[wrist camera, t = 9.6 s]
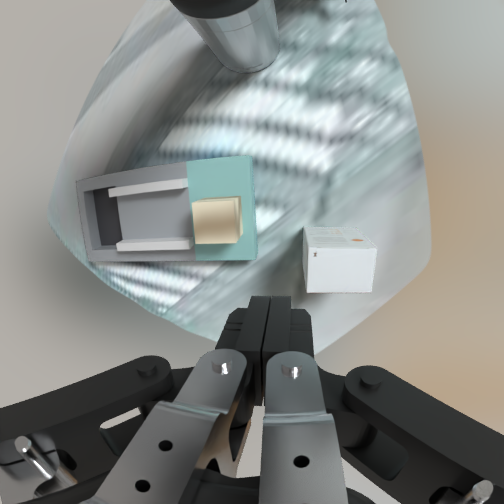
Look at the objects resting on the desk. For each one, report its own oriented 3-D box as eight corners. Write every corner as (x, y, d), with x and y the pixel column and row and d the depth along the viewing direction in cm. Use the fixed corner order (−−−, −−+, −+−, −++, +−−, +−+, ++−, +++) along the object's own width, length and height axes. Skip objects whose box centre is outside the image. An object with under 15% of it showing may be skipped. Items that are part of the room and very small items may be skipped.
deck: (86, 179, 42) (68, 182, 37) (251, 156, 38) (246, 154, 33) (98, 256, 46) (81, 265, 41) (257, 253, 42) (253, 264, 37)
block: (204, 197, 37) (191, 202, 33) (240, 195, 37) (233, 200, 32) (207, 233, 39) (195, 243, 34) (243, 233, 38) (236, 243, 33)
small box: (301, 262, 41) (304, 294, 32) (302, 225, 40) (306, 246, 30) (354, 263, 40) (372, 294, 30) (358, 226, 39) (378, 247, 29)
